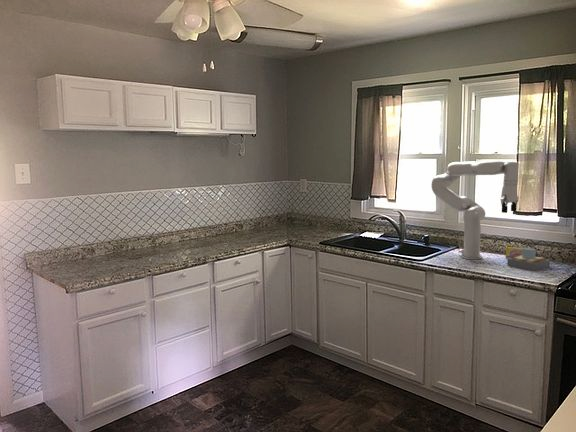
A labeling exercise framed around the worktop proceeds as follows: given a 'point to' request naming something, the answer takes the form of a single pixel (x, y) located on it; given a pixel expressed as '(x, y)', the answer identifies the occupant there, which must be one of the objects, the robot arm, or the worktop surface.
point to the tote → (528, 264)
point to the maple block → (534, 260)
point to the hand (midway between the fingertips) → (509, 211)
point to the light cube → (528, 253)
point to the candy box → (513, 252)
